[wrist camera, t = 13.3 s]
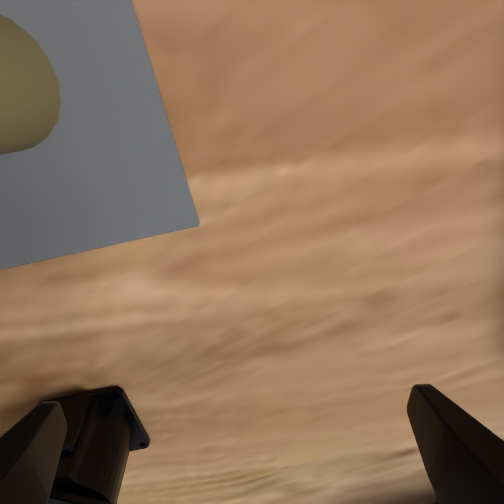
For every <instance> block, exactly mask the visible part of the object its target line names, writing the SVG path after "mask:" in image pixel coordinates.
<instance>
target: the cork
mask: <svg viewBox="0 0 504 504" xmlns="http://www.w3.org/2000/svg"><path fill="white" fill-rule="evenodd" d="M60 104H61V100H60V92H59V85H58V79H57V77H56V75H55V72H54V70H53V68H52V65H51V63H50V61H49V58H48V57H47V55H46V54H45V53H44V51H43V50H42V49H41V47H40V46H39V45H38V44H37V42H36V41H35V40H34V38H33V37H32V36H31V35H30V34H29V33H27V32H26V31H25V30H24V29H22V28H21V27H20V26H19V25H17V24H16V23H15V22H14V21H12V20H11V19H9V18H7V17H5V16H2V15H0V154H6V153H12V152H17V151H21V150H25V149H29V148H33V147H35V146H36V145H37V144H39V143H40V142H42V141H43V140H44V139H46V138H47V137H48V136H49V134H50V133H51V131H52V129H53V128H54V126H55V125H56V123H57V120H58V115H59V110H60Z"/></svg>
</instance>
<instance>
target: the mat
mask: <svg viewBox="0 0 504 504" xmlns="http://www.w3.org/2000/svg"><path fill="white" fill-rule="evenodd" d="M0 15H2V16H5V17H7V18H9V19H11V20H12V21H14V22H15V23H16V24H17V25H19V26H20V27H21V28H22V29H24V30H25V31H26V32H27V33H29V34H30V35H31V36H32V37H33V38H34V40H35V41H36V42H37V44H38V45H39V46H40V47H41V49H42V50H43V51H44V53H45V54H46V55H47V57H48V58H49V61H50V63H51V65H52V68H53V70H54V72H55V75H56V77H57V79H58V85H59V92H60V100H61V104H60V110H59V115H58V120H57V123H56V125H55V126H54V128H53V129H52V131H51V133H50V134H49V136H48V137H47V138H46V139H44V140H43V141H42V142H40V143H39V144H37V145H36V146H35V147H33V148H29V149H25V150H21V151H17V152H12V153H6V154H0V270H2V269H6V268H11V267H15V266H20V265H24V264H29V263H33V262H38V261H42V260H47V259H51V258H56V257H60V256H65V255H69V254H74V253H78V252H83V251H88V250H92V249H97V248H101V247H106V246H110V245H115V244H119V243H124V242H128V241H133V240H137V239H142V238H146V237H151V236H155V235H160V234H164V233H169V232H173V231H178V230H183V229H187V228H192V227H196V226H199V219H198V216H197V213H196V210H195V206H194V203H193V200H192V196H191V193H190V190H189V187H188V183H187V180H186V177H185V174H184V170H183V167H182V164H181V160H180V157H179V154H178V151H177V147H176V144H175V141H174V137H173V134H172V131H171V128H170V124H169V121H168V118H167V115H166V111H165V108H164V105H163V101H162V98H161V95H160V92H159V88H158V85H157V82H156V78H155V75H154V72H153V69H152V65H151V62H150V59H149V56H148V52H147V49H146V46H145V42H144V39H143V36H142V33H141V29H140V26H139V23H138V19H137V16H136V13H135V10H134V6H133V3H132V0H0Z"/></svg>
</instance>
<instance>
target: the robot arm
mask: <svg viewBox="0 0 504 504" xmlns="http://www.w3.org/2000/svg"><path fill="white" fill-rule="evenodd" d="M407 414H408V417H409V421H410V424H411V427H412V430H413V433H414V436H415V439H416V442H417V445H418V448H419V451H420V454H421V457H422V460H423V463H424V466H425V469H426V472H427V475H428V477H429V480H430V482H431V484H432V487H433V489H434V491H435V494H436V496H437V498H438V500H439V503H440V504H504V441H503V440H502V439H500V438H499V437H498V436H496V435H495V434H494V433H493V432H491V431H490V430H489V429H487V428H486V427H485V426H484V425H482V424H481V423H480V422H478V421H477V420H476V419H475V418H473V417H472V416H471V415H469V414H468V413H467V412H466V411H464V410H463V409H462V408H460V407H459V406H458V405H457V404H455V403H454V402H453V401H451V400H450V399H449V398H448V397H446V396H445V395H444V394H442V393H441V392H440V391H439V390H437V389H436V388H435V387H433V386H432V385H430V384H416V385H414V386H413V387H412V390H411V393H410V397H409V400H408V404H407ZM149 443H150V438H149V436H148V434H147V432H146V431H145V429H144V427H143V425H142V423H141V421H140V419H139V418H138V416H137V414H136V412H135V410H134V408H133V406H132V405H131V403H130V401H129V399H128V397H127V395H126V393H125V392H124V390H123V389H122V388H120V387H112V388H107V389H102V390H97V391H92V392H88V393H83V394H78V395H73V396H68V397H63V398H58V399H53V400H48V401H43V402H40V403H38V404H37V406H35V407H34V408H33V409H32V410H31V411H30V412H29V413H27V414H26V415H25V416H24V417H23V418H22V419H21V420H20V421H18V422H17V423H16V424H15V425H14V426H13V427H12V428H10V429H9V430H8V431H7V432H6V433H5V434H4V435H3V436H1V437H0V504H116V503H117V499H118V495H119V491H120V487H121V483H122V479H123V475H124V471H125V467H126V463H127V459H128V455H129V451H134V450H139V449H144V448H147V447H148V446H149Z"/></svg>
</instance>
